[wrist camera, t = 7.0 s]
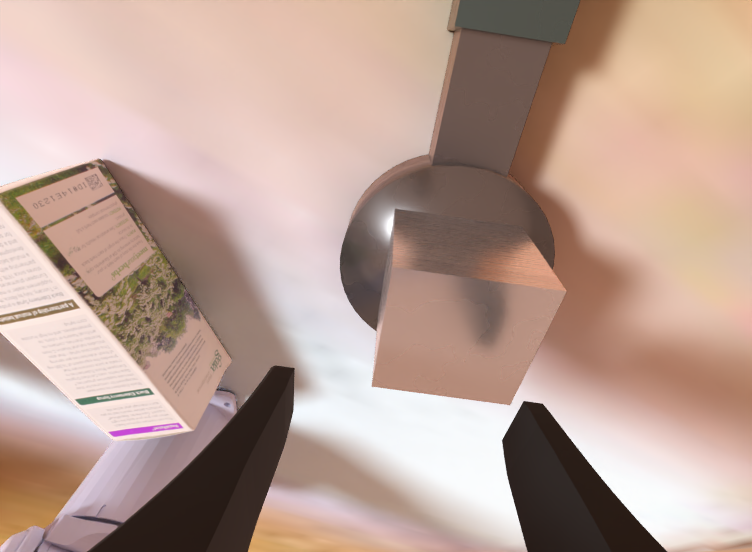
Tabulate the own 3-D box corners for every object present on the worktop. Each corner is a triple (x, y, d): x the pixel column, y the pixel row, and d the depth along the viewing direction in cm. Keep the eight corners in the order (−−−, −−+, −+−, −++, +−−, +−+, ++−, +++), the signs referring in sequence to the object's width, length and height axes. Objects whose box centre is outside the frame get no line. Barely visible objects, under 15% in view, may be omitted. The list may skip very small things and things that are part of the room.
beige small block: (485, 324, 19) (509, 404, 14) (378, 309, 18) (371, 386, 14) (522, 226, 16) (567, 291, 11) (395, 208, 15) (392, 267, 11)
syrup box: (-126, 226, 14) (109, 446, 21) (-5, 191, 13) (197, 436, 20) (11, 180, 19) (163, 372, 26) (105, 153, 18) (236, 361, 25)
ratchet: (500, 331, 22) (531, 417, 17) (339, 308, 22) (320, 387, 17) (714, -169, 11) (991, -365, 6) (393, -225, 11) (386, -480, 6)
